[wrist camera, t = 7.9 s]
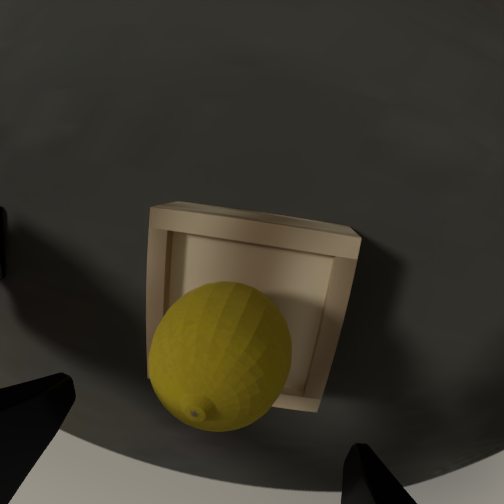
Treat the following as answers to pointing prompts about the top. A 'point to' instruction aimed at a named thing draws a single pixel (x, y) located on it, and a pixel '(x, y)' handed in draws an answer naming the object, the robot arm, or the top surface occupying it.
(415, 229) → the top surface
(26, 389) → the robot arm
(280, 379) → the lemon
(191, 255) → the wooden serving tray
